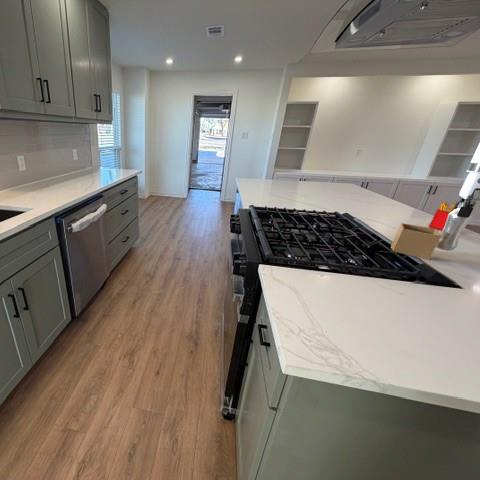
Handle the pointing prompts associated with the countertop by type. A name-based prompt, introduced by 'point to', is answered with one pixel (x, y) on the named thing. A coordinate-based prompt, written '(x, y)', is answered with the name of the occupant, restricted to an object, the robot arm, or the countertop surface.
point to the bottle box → (415, 240)
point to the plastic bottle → (452, 230)
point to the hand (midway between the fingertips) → (460, 214)
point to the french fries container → (441, 216)
